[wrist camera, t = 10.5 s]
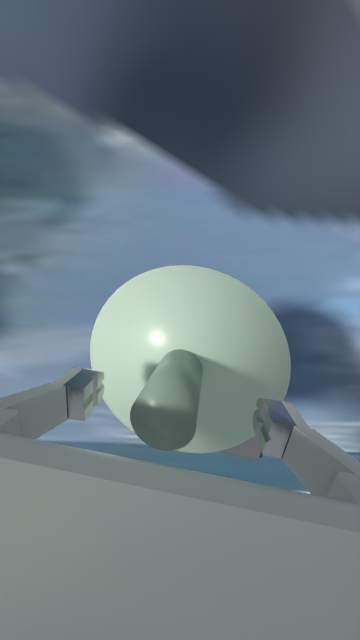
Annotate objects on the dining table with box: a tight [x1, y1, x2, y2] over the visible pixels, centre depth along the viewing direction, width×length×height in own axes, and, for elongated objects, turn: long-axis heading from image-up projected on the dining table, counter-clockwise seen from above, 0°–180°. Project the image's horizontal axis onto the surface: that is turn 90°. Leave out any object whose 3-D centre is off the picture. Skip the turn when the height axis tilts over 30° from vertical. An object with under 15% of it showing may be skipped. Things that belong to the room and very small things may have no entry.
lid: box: [90, 265, 291, 453], centre depth 10 cm, size 13×13×5 cm
